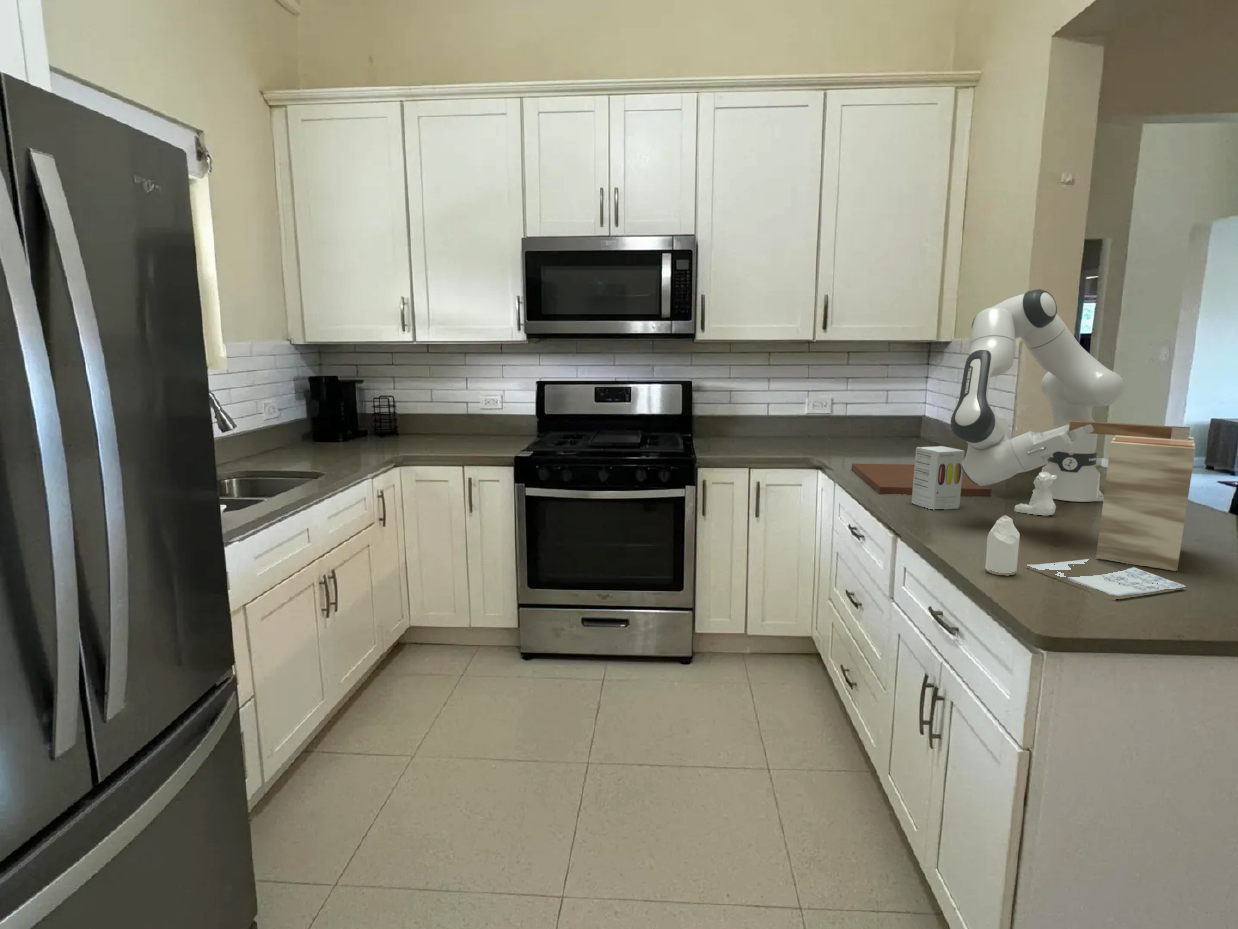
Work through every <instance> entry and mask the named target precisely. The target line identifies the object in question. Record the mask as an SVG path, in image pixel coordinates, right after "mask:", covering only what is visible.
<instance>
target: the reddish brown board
mask: <svg viewBox="0 0 1238 929" xmlns="http://www.w3.org/2000/svg"><path fill="white" fill-rule="evenodd" d="M914 468H915V464H909V463H908V464H906V463H904V464H902V463H900V464H899V463H897V464H895V463H854V462H853V463H851V471H852V472H853V473H855V474H856V476H858V477H859V478H860V479H861V480H863V482H865V484H867V485H868V486H869V485H870V488H872V489H873V490H874V491H875V492H876V491H877V492H878V493H877V492H876V493H877V494H879V495H885V494H901V495H900V496H904V495H903V494H906V495H905V496H912V491H913V480H914ZM960 497H986V498H987V497H988V498H990V497H992V488H990V487H988V486H987V485H985V486H979V485H976V484H975V483H973V482H972V481H971V480H970V479H969V478H968V477H967V476H966V474H965V473H963V474H962V484H961V495H960Z"/></svg>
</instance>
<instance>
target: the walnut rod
mask: <svg viewBox="0 0 1238 929" xmlns="http://www.w3.org/2000/svg"><path fill="white" fill-rule="evenodd" d="M1089 424H1092V425H1093V427H1094V431H1093V432H1091V434H1098V435H1108V436H1115V435H1120V436H1134V437H1148V438H1163V439H1173V440H1187V441H1188V439H1189V437H1190V431H1191V428H1190V426H1179V425H1178V426H1177V425H1170V426H1169V425H1156V424H1154V425H1153V424H1142V423H1141V424H1139V423H1126V422H1125V423H1123V422H1107V421H1106V422H1105V421H1095V422H1093V421H1077V420H1071V421H1070V424H1069V430H1070V431H1072V430H1075V429H1078V428H1081V427H1083V426H1086V425H1089ZM1070 431H1069V432H1070Z"/></svg>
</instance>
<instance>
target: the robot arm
mask: <svg viewBox="0 0 1238 929" xmlns="http://www.w3.org/2000/svg"><path fill="white" fill-rule="evenodd" d="M1056 302H1057V301H1056V300H1055V298H1054V296H1053V295H1052V294H1051V293H1050V292H1048V291H1047V290H1044V289H1041V288H1039V289H1038V288H1036V289H1031V290H1029V291H1026V292H1025V293H1022V294H1019V295H1015V296H1012V297H1009V298H1007V299H1005V300H1003V301H1001V302H999V303H997V304H995V305H993V306H991V307H988V308H984V309H983V310H981V311H980V312H978V314H977V315H975V317H973V321H972V323H971V331H970V338H969V346H968V357H967V359H966V361H965V363H964V369H963V374H962V378H961V380H962V382H961V386H960V393H959V398H958V402H957V403H956V404H957V405H956V407H955V408H954V410H953V411H952V412H953V413H952V415H951V417H950V428H951V431H952V432H953V435H955V436H956V437H958V438H960V439H961V440H963V441H965V442H966V443H967V451H966V455H964V460H963V462H962V463H961V465H962V469H963V474H964V475H965V476H967V477H968V478H969V479H970V480H971V481H972V482H973V483H975V484H976V485H979V486H989V485H993V484H997V483H999V482H1003V481H1005V480H1008V479H1011V478H1013V476H1015V475H1017V474H1019V473H1026V472H1030V471H1032V470H1035V469H1038V468H1040V467H1042V469H1041V472H1048V473H1049V474H1051V475H1056V476H1057V478H1056V479H1055V480H1053V483H1052V484H1051V485H1050V486H1049V487H1048V489H1050V490H1051V492H1052V499H1053V500H1059V501H1065V502H1066V501H1067V502H1080V503H1082V502H1083V503H1085V502H1086V503H1087V502H1088V503H1089V502H1103V500H1104V493H1103V492H1101V490H1100V489H1101V484H1100V478H1101V472H1100V471H1099V470H1098V468H1096V465H1097V460H1098V452H1096V450H1097V444H1098V443H1097V442H1098V435H1099V434H1091V432H1093V431H1094V427H1093V425H1092V424H1089V425H1086V426H1083V427H1081V428H1078V429H1075V430H1072V431H1070V430H1069V424H1070V421H1071V420H1077V421H1093V422H1096V421H1095V420H1094V419H1093V417H1092V415H1091V412H1090V407H1093V408H1097V407H1107V406H1111V405H1114V404H1115V403H1117V402H1118V401H1119V400H1121V397H1122V396H1123V395H1124V392H1125V382H1124V380H1123V377H1122V376H1121V375H1120V374H1118V373H1117V372H1115V371H1113V370H1111V369H1110V368H1108V367H1106V366H1105V365H1104V364H1102V363H1101V362H1099V360H1098V359H1096V358H1095V357H1094V356H1093V355H1092V354H1090V353H1089V352H1088V351H1087V350H1086V349H1085V348H1084V347H1083V346H1082V345H1081V344H1080V343H1079V341H1077V339H1076V338H1075V336H1074V335H1073V333H1072V332H1071V331H1070V329H1069V328H1068V326H1067V325H1066V323H1065V322H1064V321H1063V319H1062V318H1061V316H1060V315H1059V314H1058V306H1057V303H1056ZM1018 338H1020V339H1021V340H1022V342H1023V344H1024V345H1025V346H1026V348H1027V350H1028V351H1029V353H1030V354H1031V355H1032V356H1033V358H1034V359H1035V361H1036V362H1037V363H1038V365H1039V367H1041V368H1042V369H1044V370H1045V371H1046V373H1045V374H1044V376H1043V377H1042V380H1041V383H1040V386H1041V388H1040V389H1041V391H1042V393H1043V394H1044V396H1045V398H1046V399H1047V400H1048V403H1049V405H1050V409H1051V413H1052V419H1053V429H1050V430H1046V431H1043V432H1037V431H1036V432H1034V431H1032V430H1029V431H1027V432H1025V433H1023V434H1020V435H1017V436H1015V437H1013V433H1012V431H1011V428H1010V426H1009V425H1008V424H1007V423H1006V421H1004V420H1003V419H1002V418H1001V417H999V415H997V414H996V413H995V412H994V411H993V409H992V407H991V406H990V403H989V401H988V397H989V396H988V395H989V389H990V381H991V378H994V377H998V376H1000V375H1003V374H1005V373H1007V372H1008V371H1009V370H1010V369H1011V368H1012V366H1013V364H1014V360H1015V356H1016V339H1018ZM1069 431H1070V432H1069ZM1034 490H1035V488H1034V489H1032V491H1031V492H1033V491H1034Z"/></svg>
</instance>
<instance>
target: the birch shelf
mask: <svg viewBox="0 0 1238 929" xmlns="http://www.w3.org/2000/svg"><path fill="white" fill-rule="evenodd" d="M1109 445H1110V447H1109V453H1108V462H1107V468H1106V469H1107V470H1106V477H1105V485H1104V493H1103V495H1104V500H1103V501H1102V508H1101V509H1102V510H1101V514H1100V515H1101V516H1100V523H1099V524H1100V525H1099V533H1098V538H1097V547H1096V548H1097V549H1096V555H1095V558H1096V557H1101V558H1109V559H1115V560H1119V561H1124V562H1128V563H1134V564H1144V565H1149V566H1155V567H1164V568H1169V569H1175V570H1177V571H1178V567H1179V561H1180V556H1181V555H1180V554H1181V547H1182V542H1183V534H1184V527H1185V521H1186V514H1187V506H1188V501H1189V494H1190V487H1191V480H1192V476H1193V475H1192V473H1193V467H1194V460H1195V454H1196V443H1195V438H1194V437H1193V436H1189V439H1188V441H1187V440H1173V439H1163V438H1148V437H1134V436H1120V435H1113V438H1112V440H1111V441H1110V444H1109Z"/></svg>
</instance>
